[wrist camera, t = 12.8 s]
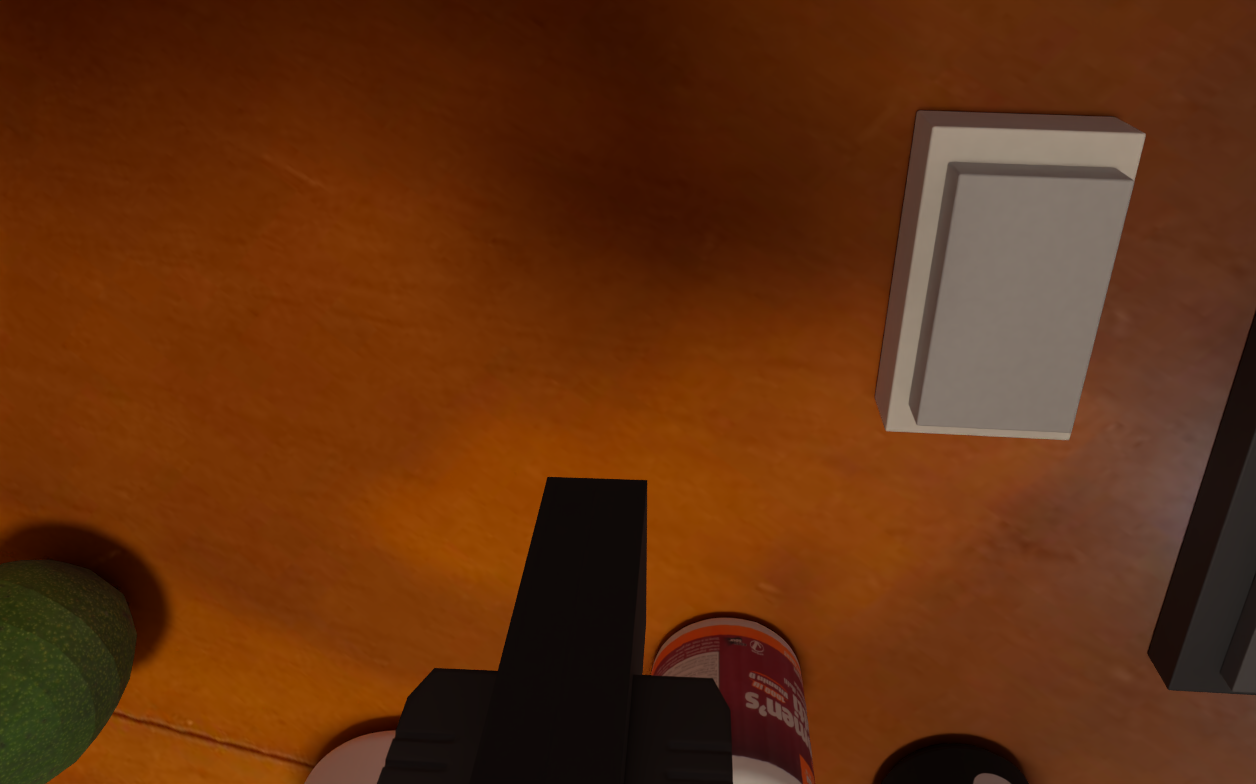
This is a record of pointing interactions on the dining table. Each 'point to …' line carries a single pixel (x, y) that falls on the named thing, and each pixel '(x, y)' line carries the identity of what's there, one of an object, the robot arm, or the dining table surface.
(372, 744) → the cup
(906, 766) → the beverage can
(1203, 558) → the dark grey stepped slab
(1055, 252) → the stepped grey block
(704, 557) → the dining table surface
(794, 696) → the pill bottle
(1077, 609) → the dining table surface
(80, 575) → the fruit
